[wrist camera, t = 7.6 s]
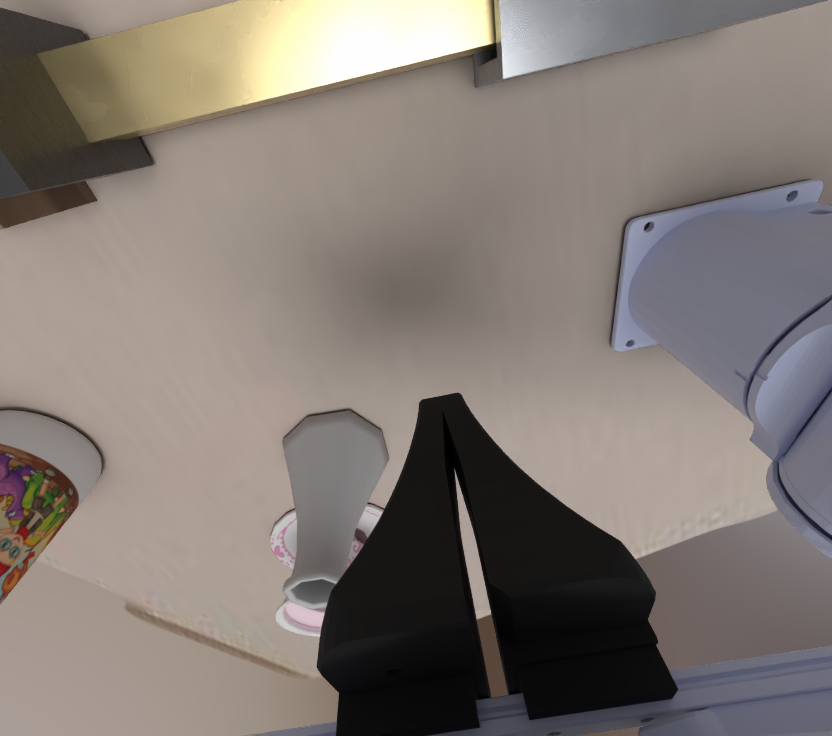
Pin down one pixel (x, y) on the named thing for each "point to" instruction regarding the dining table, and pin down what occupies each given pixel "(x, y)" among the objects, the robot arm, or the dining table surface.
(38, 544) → the milk bottle
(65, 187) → the socket
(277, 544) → the teacup
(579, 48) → the sleeve
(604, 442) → the dining table surface
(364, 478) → the flask
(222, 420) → the dining table surface
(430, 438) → the robot arm
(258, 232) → the dining table surface
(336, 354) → the dining table surface
